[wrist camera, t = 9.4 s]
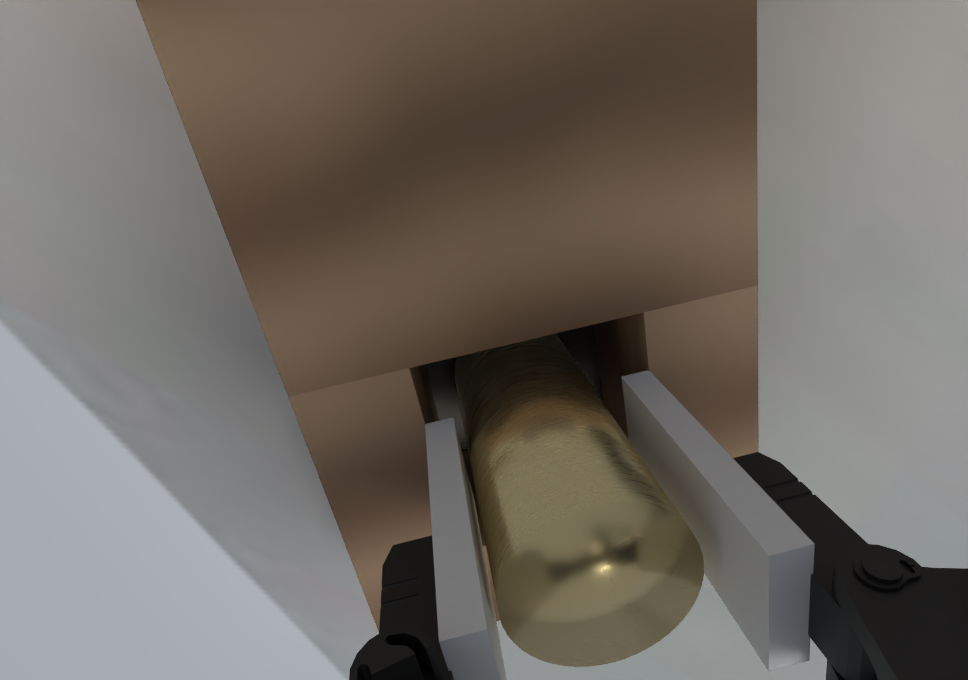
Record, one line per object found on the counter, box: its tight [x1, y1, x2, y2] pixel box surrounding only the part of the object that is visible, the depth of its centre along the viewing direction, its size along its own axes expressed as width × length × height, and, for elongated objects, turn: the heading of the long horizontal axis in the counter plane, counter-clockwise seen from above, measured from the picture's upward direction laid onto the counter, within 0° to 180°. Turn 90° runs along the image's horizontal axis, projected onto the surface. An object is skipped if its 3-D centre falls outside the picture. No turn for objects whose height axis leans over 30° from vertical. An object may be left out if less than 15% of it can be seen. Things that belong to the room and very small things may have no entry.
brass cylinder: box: [454, 333, 704, 667], centre depth 15 cm, size 4×4×10 cm
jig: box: [136, 0, 758, 631], centre depth 15 cm, size 20×12×6 cm, turn 11°
